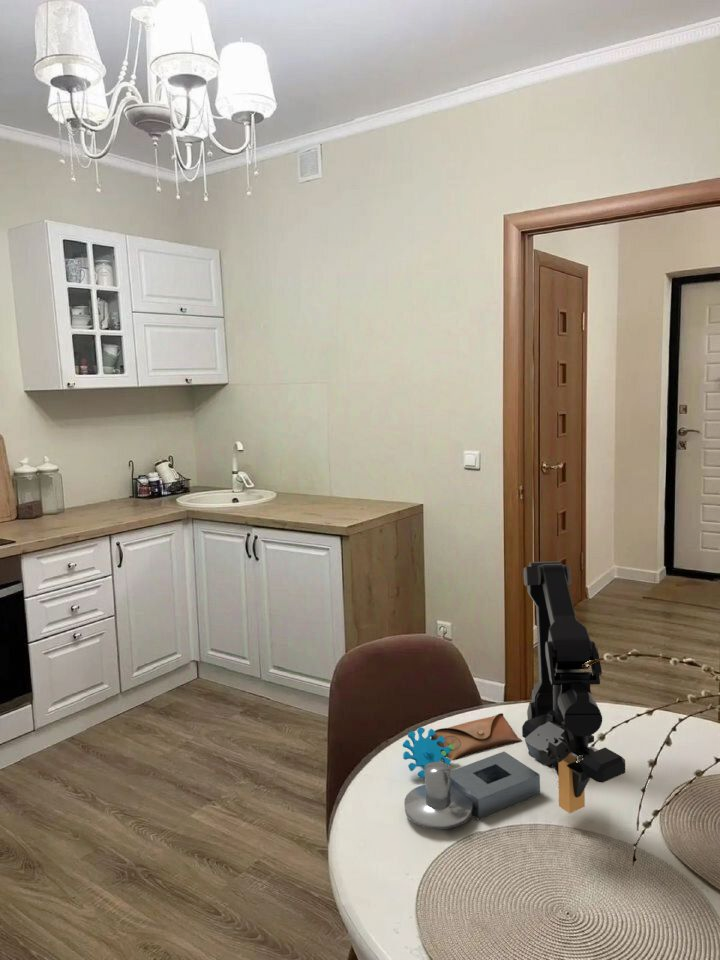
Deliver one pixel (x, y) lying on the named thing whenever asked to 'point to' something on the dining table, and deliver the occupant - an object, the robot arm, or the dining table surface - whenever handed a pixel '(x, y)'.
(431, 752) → the gear
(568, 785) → the tan wooden beam
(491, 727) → the sunglasses case
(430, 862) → the dining table surface
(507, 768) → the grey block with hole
